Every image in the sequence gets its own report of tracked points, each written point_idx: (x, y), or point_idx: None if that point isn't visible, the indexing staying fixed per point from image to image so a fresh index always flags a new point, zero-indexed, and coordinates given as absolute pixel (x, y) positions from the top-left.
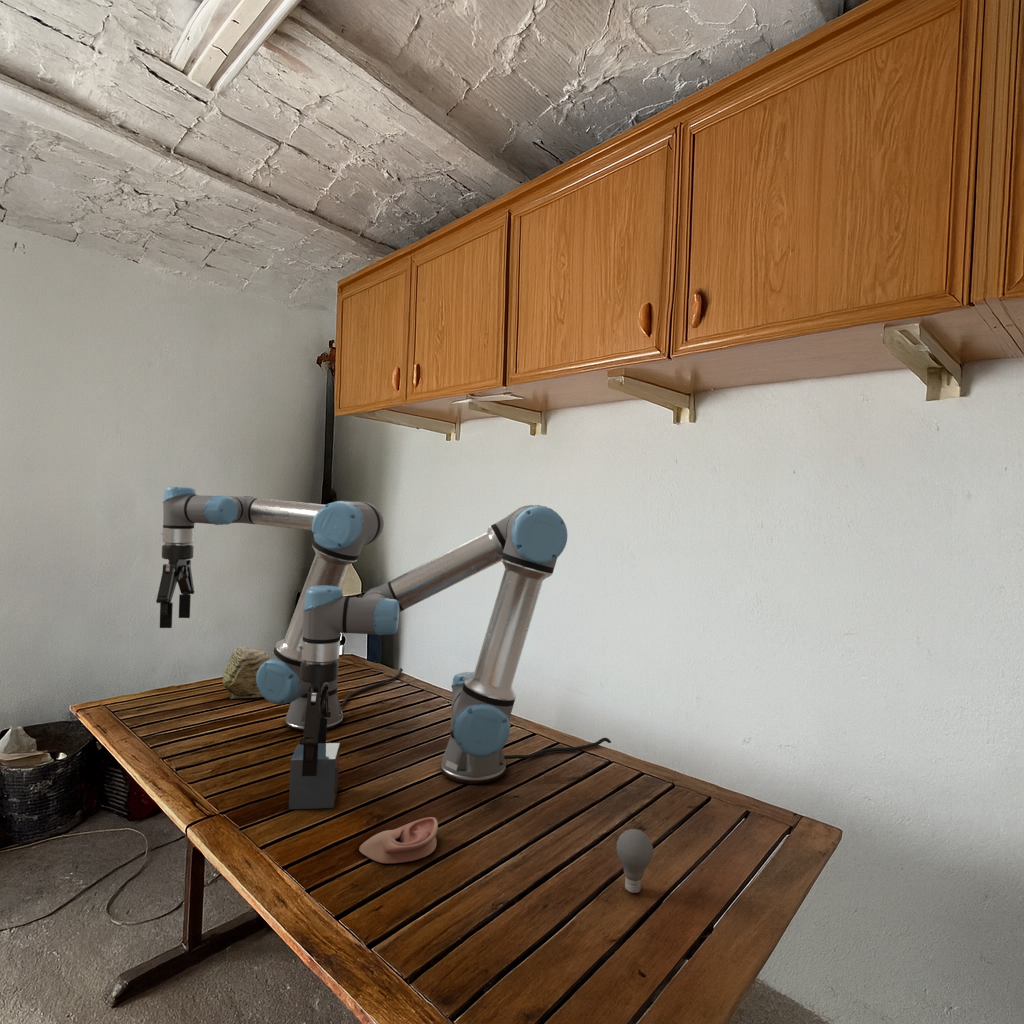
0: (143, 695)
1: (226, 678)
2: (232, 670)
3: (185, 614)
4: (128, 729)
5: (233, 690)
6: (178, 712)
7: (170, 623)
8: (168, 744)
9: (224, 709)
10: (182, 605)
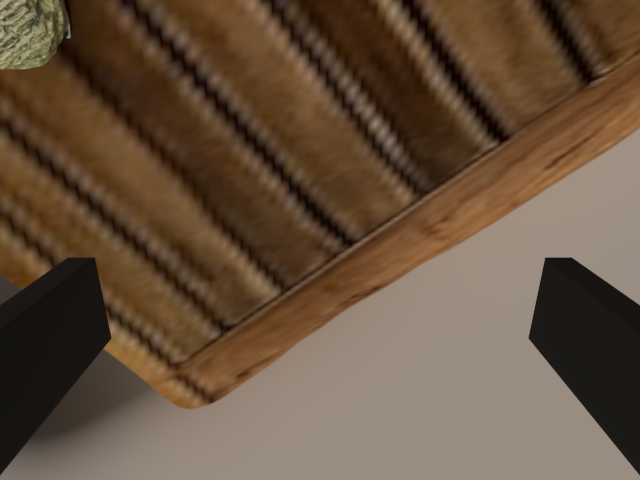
0: None
1: (35, 45)
2: (16, 7)
3: (83, 303)
4: (359, 246)
5: (65, 15)
6: (222, 167)
7: (598, 279)
8: (487, 102)
9: (183, 25)
10: (31, 394)
